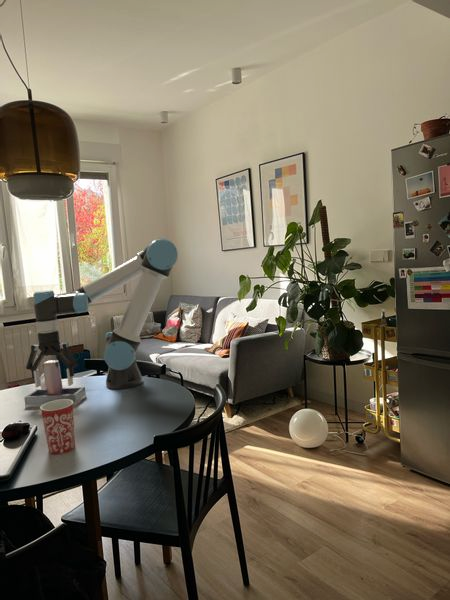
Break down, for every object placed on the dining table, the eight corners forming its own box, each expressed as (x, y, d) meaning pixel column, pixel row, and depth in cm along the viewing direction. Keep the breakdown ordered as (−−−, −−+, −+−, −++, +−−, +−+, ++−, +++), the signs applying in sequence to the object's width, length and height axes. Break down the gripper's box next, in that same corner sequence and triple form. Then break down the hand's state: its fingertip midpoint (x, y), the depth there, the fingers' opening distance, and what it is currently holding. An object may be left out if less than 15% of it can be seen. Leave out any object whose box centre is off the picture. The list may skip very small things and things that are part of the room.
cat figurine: (52, 372, 185) (47, 361, 198) (35, 385, 182) (31, 373, 195) (66, 388, 189) (61, 376, 202) (50, 401, 186) (45, 388, 199)
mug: (78, 451, 129) (73, 406, 127) (44, 458, 126) (38, 412, 125) (78, 435, 141) (73, 393, 139) (47, 441, 138) (42, 398, 137)
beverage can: (49, 398, 178) (43, 361, 177) (65, 395, 179) (59, 358, 178) (46, 402, 172) (41, 364, 171) (63, 400, 174) (57, 362, 172)
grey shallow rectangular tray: (86, 396, 180) (85, 386, 180) (76, 405, 170) (74, 395, 170) (38, 398, 182) (36, 389, 181) (25, 407, 172) (23, 397, 171)
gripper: (82, 327, 175) (88, 381, 178) (22, 331, 178) (29, 384, 180) (74, 331, 168) (81, 387, 170) (11, 335, 170) (19, 390, 173)
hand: (54, 385), depth 175 cm, fingers open, 12 cm apart
